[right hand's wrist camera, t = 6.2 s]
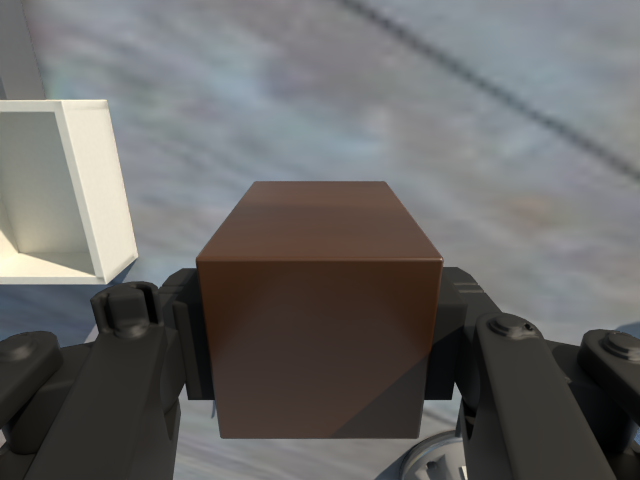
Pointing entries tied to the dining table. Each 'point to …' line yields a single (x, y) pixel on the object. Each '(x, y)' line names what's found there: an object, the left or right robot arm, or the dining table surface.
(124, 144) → the dining table surface
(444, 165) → the dining table surface
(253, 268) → the walnut block
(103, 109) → the bin
